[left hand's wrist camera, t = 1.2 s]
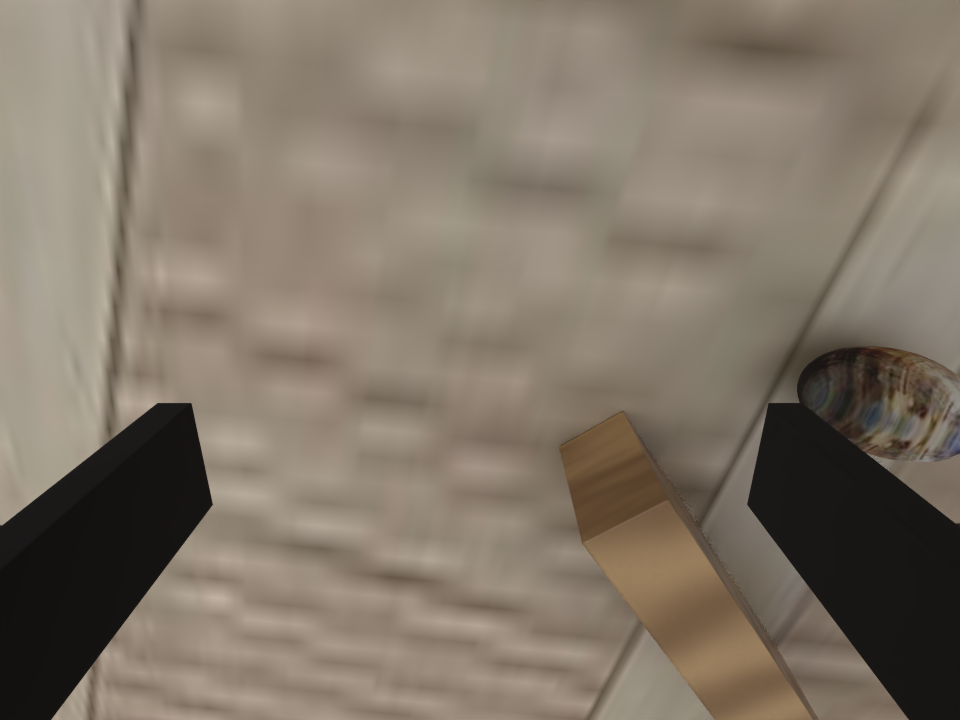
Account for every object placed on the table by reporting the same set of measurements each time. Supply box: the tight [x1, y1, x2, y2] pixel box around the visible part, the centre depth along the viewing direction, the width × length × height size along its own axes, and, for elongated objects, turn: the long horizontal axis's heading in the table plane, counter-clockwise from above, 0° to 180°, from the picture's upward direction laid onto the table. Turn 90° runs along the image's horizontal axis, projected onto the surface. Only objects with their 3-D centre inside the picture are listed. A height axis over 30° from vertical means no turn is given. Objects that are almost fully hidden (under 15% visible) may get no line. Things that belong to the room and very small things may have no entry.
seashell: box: [797, 346, 960, 462], centre depth 30 cm, size 10×6×8 cm, turn 79°
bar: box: [559, 411, 818, 720], centre depth 34 cm, size 25×5×9 cm, turn 34°
